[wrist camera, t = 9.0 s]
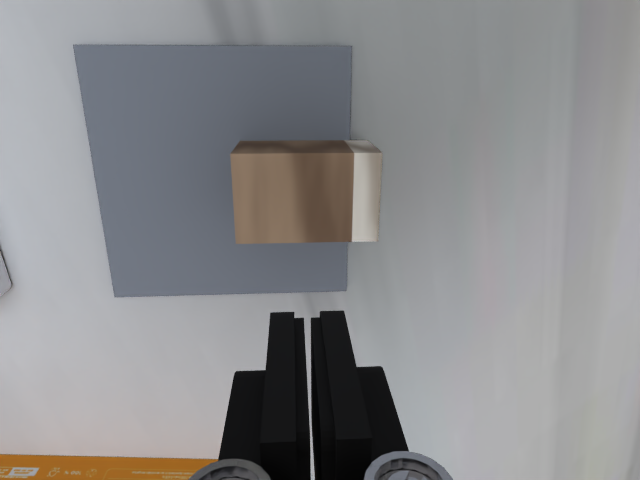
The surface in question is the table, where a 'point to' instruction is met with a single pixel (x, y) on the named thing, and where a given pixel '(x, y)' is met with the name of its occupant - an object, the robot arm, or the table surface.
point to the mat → (204, 160)
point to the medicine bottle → (4, 277)
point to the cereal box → (97, 467)
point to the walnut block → (306, 191)
